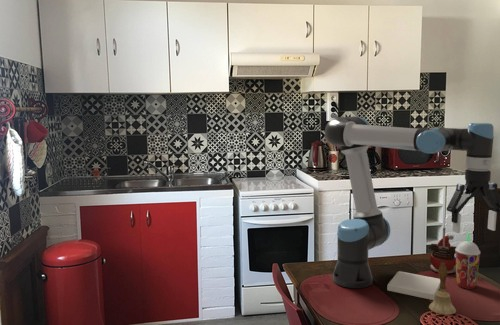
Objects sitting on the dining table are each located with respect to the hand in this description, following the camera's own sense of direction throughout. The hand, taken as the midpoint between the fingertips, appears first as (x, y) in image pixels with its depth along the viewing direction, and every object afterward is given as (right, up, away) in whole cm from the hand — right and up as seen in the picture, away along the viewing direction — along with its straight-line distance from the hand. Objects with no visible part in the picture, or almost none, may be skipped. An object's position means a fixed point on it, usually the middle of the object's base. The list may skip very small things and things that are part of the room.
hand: (473, 230), depth 144 cm
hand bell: (-12, -26, -4) cm, 29 cm away
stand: (-15, -23, +14) cm, 31 cm away
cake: (+3, -21, +30) cm, 37 cm away
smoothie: (+5, -23, +14) cm, 28 cm away
